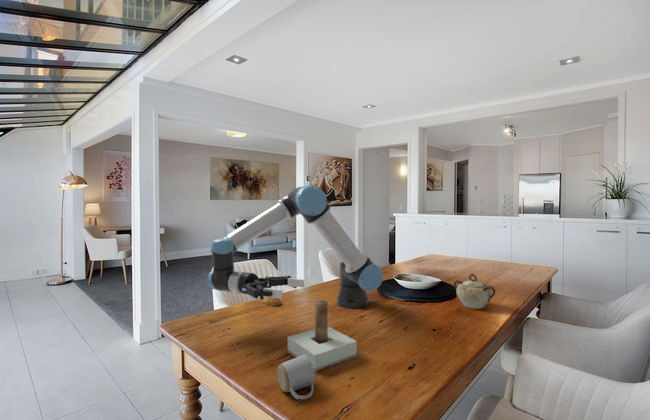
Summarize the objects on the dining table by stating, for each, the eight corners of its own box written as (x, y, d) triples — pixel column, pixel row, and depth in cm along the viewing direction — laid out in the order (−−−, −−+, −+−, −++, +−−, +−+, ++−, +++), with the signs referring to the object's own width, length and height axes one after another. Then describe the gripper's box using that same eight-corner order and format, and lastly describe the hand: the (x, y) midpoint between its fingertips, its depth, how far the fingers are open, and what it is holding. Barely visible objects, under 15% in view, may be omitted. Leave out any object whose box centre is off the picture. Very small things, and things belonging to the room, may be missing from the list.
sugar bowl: (445, 304, 157) (445, 272, 156) (462, 298, 166) (462, 268, 165) (486, 315, 141) (486, 280, 140) (502, 308, 150) (503, 275, 149)
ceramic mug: (275, 385, 89) (275, 357, 89) (301, 376, 93) (301, 350, 93) (293, 407, 80) (293, 376, 80) (321, 395, 84) (321, 366, 84)
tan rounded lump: (284, 305, 158) (284, 297, 158) (272, 308, 153) (272, 300, 153) (273, 300, 165) (273, 293, 165) (261, 303, 160) (261, 295, 160)
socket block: (287, 351, 109) (287, 336, 108) (327, 339, 118) (326, 325, 118) (314, 372, 96) (314, 355, 95) (356, 356, 105) (356, 341, 105)
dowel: (312, 350, 107) (312, 301, 107) (322, 347, 110) (322, 299, 109) (319, 355, 104) (319, 305, 103) (330, 351, 106) (329, 302, 106)
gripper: (265, 284, 131) (312, 289, 122) (219, 303, 109) (271, 311, 99) (264, 265, 131) (311, 269, 121) (218, 281, 109) (270, 287, 99)
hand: (293, 288), depth 110 cm, fingers open, 13 cm apart
